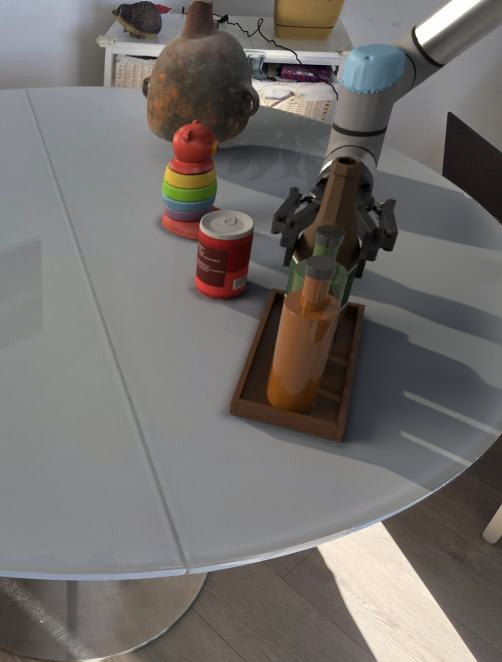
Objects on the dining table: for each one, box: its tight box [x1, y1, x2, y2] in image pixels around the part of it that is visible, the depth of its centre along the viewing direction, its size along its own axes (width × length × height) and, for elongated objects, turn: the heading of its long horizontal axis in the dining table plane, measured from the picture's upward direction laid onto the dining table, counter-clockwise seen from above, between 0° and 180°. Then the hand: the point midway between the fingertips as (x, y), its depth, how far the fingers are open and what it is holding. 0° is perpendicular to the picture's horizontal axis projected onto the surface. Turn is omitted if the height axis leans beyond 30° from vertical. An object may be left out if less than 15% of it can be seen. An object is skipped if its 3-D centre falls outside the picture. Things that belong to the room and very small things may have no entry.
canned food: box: [194, 209, 255, 300], centre depth 95 cm, size 8×8×11 cm
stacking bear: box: [161, 120, 222, 241], centre depth 109 cm, size 11×10×18 cm
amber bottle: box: [266, 255, 341, 414], centre depth 72 cm, size 6×6×19 cm
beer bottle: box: [282, 156, 364, 333], centre depth 80 cm, size 8×8×24 cm
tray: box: [228, 287, 366, 443], centre depth 83 cm, size 13×26×2 cm, turn 154°
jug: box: [141, 0, 261, 144], centre depth 131 cm, size 24×21×30 cm
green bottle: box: [290, 225, 348, 305], centre depth 77 cm, size 6×6×19 cm
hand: (323, 262), depth 76 cm, fingers closed on beer bottle, 7 cm apart
